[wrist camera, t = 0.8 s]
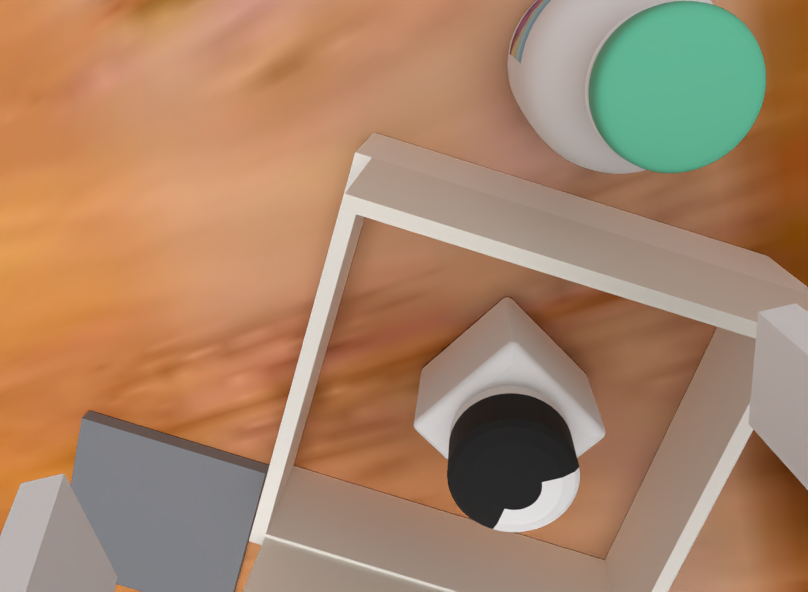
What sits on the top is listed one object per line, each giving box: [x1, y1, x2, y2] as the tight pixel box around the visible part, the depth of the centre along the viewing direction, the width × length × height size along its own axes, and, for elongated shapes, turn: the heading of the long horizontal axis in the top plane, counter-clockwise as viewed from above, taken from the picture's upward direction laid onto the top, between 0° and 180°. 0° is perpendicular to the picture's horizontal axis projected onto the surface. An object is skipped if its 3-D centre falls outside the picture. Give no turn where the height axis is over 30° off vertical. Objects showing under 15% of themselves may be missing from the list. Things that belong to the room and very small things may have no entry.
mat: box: [71, 411, 269, 592], centre depth 50 cm, size 12×12×1 cm
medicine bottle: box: [414, 297, 605, 532], centre depth 40 cm, size 7×7×12 cm
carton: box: [243, 132, 808, 592], centre depth 38 cm, size 23×23×15 cm
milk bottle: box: [507, 0, 766, 174], centre depth 30 cm, size 8×8×20 cm
